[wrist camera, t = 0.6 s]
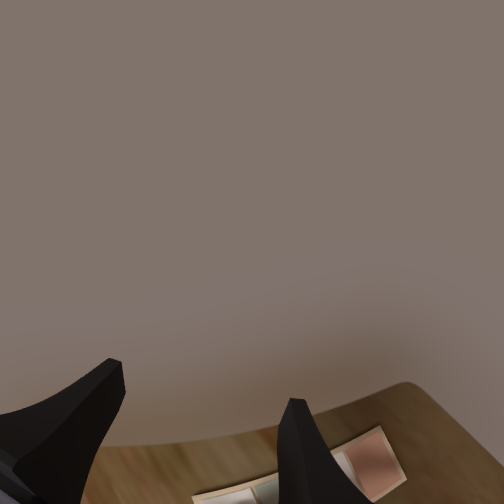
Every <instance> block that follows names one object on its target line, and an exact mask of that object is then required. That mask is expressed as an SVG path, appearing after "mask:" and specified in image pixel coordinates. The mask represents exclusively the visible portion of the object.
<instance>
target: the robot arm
mask: <svg viewBox="0 0 504 504" xmlns="http://www.w3.org/2000/svg"><path fill="white" fill-rule="evenodd" d="M125 392H126V391H125V385H124V378H123V370H122V362H121V361H117V360H114V359H111V358H108V359H107V360H105V361H104V362H103V363H101V364H100V365H99V366H97V367H96V368H94V369H93V370H92V371H90V372H89V373H88V374H86V375H85V376H84V377H82V378H80V379H79V380H77V381H76V382H74V383H73V384H71V385H70V386H69V387H67V388H65V389H63V390H62V391H60V392H58V393H57V394H55V395H53V396H51V397H49V398H48V399H45V400H44V401H41V402H39V403H37V404H34V405H32V406H29V407H26V408H23V409H21V410H18V411H14V412H11V413H6V414H2V415H0V504H80V502H81V498H82V494H83V491H84V487H85V483H86V480H87V477H88V474H89V471H90V468H91V465H92V463H93V460H94V457H95V455H96V452H97V450H98V448H99V446H100V444H101V443H102V441H103V439H104V437H105V435H106V433H107V431H108V430H109V428H110V426H111V424H112V422H113V421H114V419H115V417H116V415H117V413H118V411H119V409H120V406H121V404H122V401H123V399H124V396H125ZM277 458H278V480H279V500H278V504H374V503H372V502H371V501H370V500H369V499H368V498H367V497H366V496H365V495H364V494H363V493H362V492H361V491H360V490H359V489H358V488H357V487H356V486H355V485H354V484H353V482H352V481H351V480H350V479H349V478H348V476H347V475H346V474H345V473H344V471H343V470H342V469H341V467H340V466H339V464H338V463H337V461H336V460H335V458H334V457H333V455H332V454H331V452H330V450H329V449H328V447H327V445H326V443H325V442H324V440H323V438H322V436H321V434H320V432H319V430H318V428H317V426H316V424H315V422H314V419H313V417H312V415H311V413H310V410H309V408H308V406H307V403H306V401H305V400H304V399H294V398H290V400H289V402H288V405H287V407H286V410H285V412H284V415H283V417H282V420H281V422H280V424H279V428H278V440H277Z"/></svg>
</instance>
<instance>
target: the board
mask: <svg viewBox="0 0 504 504" xmlns="http://www.w3.org/2000/svg"><path fill="white" fill-rule="evenodd" d="M330 452H331V454H332V455H333V457H334V458H335V460H336V461H337V463H338V464H339V466H340V467H341V469H342V470H343V471H344V473H345V474H346V475H347V476H348V478H349V479H350V480H351V481H352V482H353V484H354V485H355V486H356V487H357V488H358V489H359V490H360V491H361V492H362V493H363V494H364V495H365V496H366V497H367V498H368V499H369V500H370V501H371V502H372V503H373V502H375V501H377V500H378V499H380V498H381V497H383V496H384V495H386V494H387V493H389V492H390V491H392V490H393V489H395V488H396V487H397V486H399V485H400V484H402V483H403V482H404V481H406V480H407V478H406V476H405V474H404V472H403V470H402V468H401V466H400V464H399V462H398V460H397V458H396V456H395V454H394V452H393V450H392V448H391V446H390V444H389V442H388V440H387V438H386V436H385V434H384V432H383V430H382V428H381V426H380V425H379V426H377V427H376V428H374V429H372V430H370V431H368V432H367V433H365V434H363V435H361V436H359V437H357V438H355V439H353V440H351V441H350V442H348V443H346V444H344V445H342V446H339V447H337V448H335V449H333V450H331V451H330ZM192 499H193V502H194V504H278V500H279V480H278V473H275V474H272V475H269V476H266V477H263V478H260V479H257V480H254V481H250V482H247V483H244V484H240V485H237V486H233V487H229V488H225V489H221V490H217V491H213V492H209V493H204V494H200V495H195V496H192Z"/></svg>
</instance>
